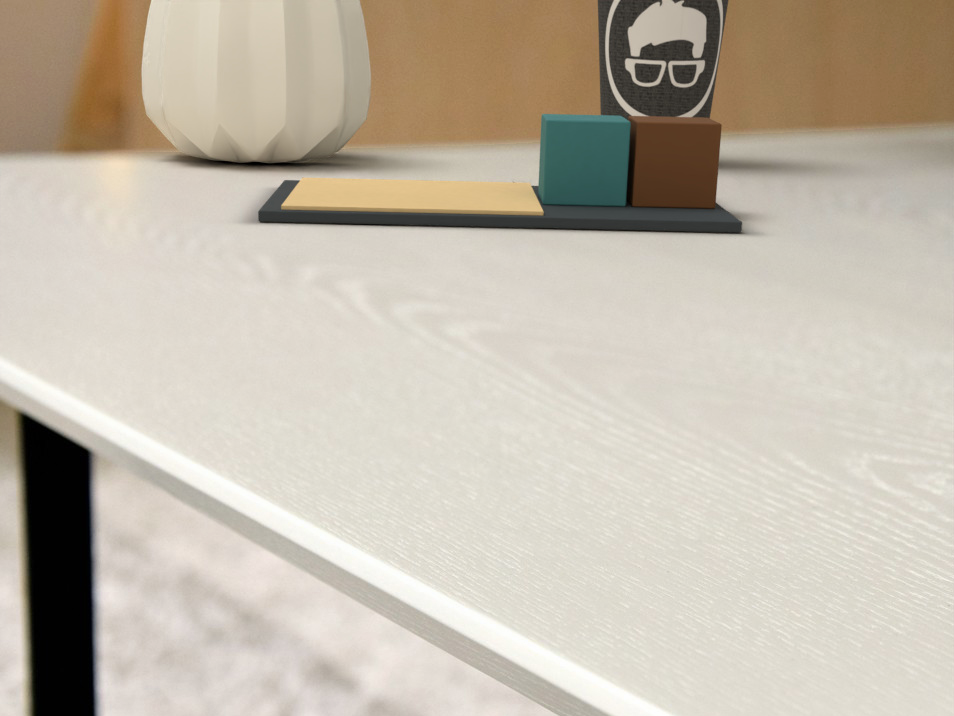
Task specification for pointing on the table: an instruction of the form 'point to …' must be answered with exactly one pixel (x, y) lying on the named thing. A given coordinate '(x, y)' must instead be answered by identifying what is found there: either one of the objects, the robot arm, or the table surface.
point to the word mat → (547, 184)
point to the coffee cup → (659, 56)
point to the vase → (256, 77)
